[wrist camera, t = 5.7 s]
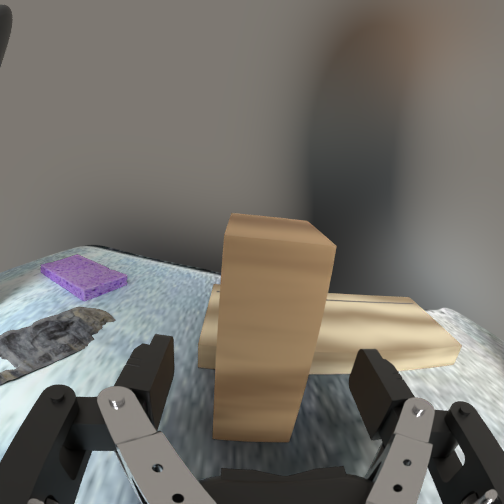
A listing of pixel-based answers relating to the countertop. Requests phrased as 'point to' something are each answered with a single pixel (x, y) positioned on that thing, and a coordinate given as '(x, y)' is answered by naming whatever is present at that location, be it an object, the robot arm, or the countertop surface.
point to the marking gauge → (267, 324)
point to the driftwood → (50, 340)
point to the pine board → (359, 334)
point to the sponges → (83, 276)
